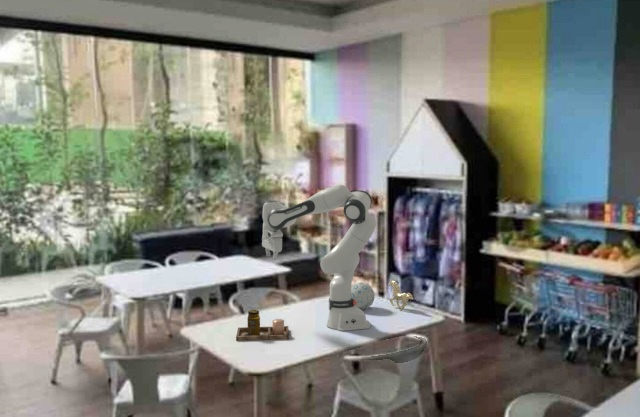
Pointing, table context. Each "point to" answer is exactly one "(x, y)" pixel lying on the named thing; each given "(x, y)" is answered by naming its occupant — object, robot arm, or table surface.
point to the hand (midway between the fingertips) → (271, 258)
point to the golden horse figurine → (399, 295)
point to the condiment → (253, 323)
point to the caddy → (266, 335)
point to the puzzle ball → (362, 295)
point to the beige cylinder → (278, 327)
